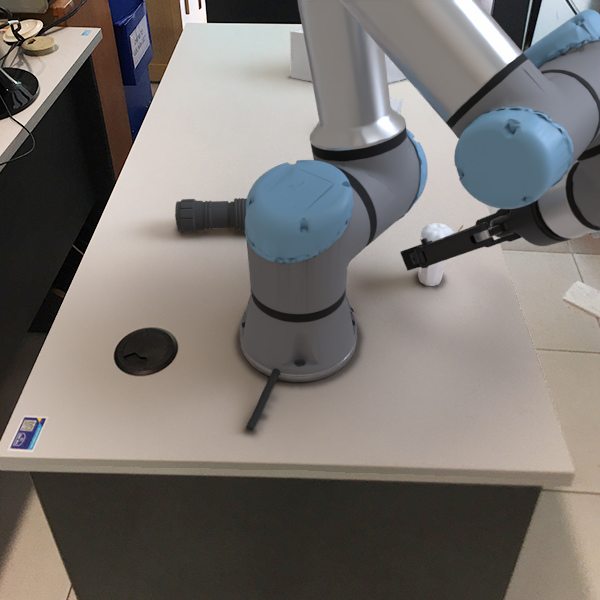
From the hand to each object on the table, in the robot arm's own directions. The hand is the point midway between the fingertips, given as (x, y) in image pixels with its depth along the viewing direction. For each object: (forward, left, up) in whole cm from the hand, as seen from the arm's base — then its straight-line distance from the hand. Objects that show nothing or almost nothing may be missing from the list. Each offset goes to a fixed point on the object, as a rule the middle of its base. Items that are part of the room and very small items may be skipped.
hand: (444, 244), depth 86 cm
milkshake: (0, +1, -7) cm, 7 cm away
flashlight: (-12, +32, -7) cm, 35 cm away
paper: (+47, +55, -7) cm, 72 cm away
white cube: (+30, +34, -7) cm, 46 cm away
